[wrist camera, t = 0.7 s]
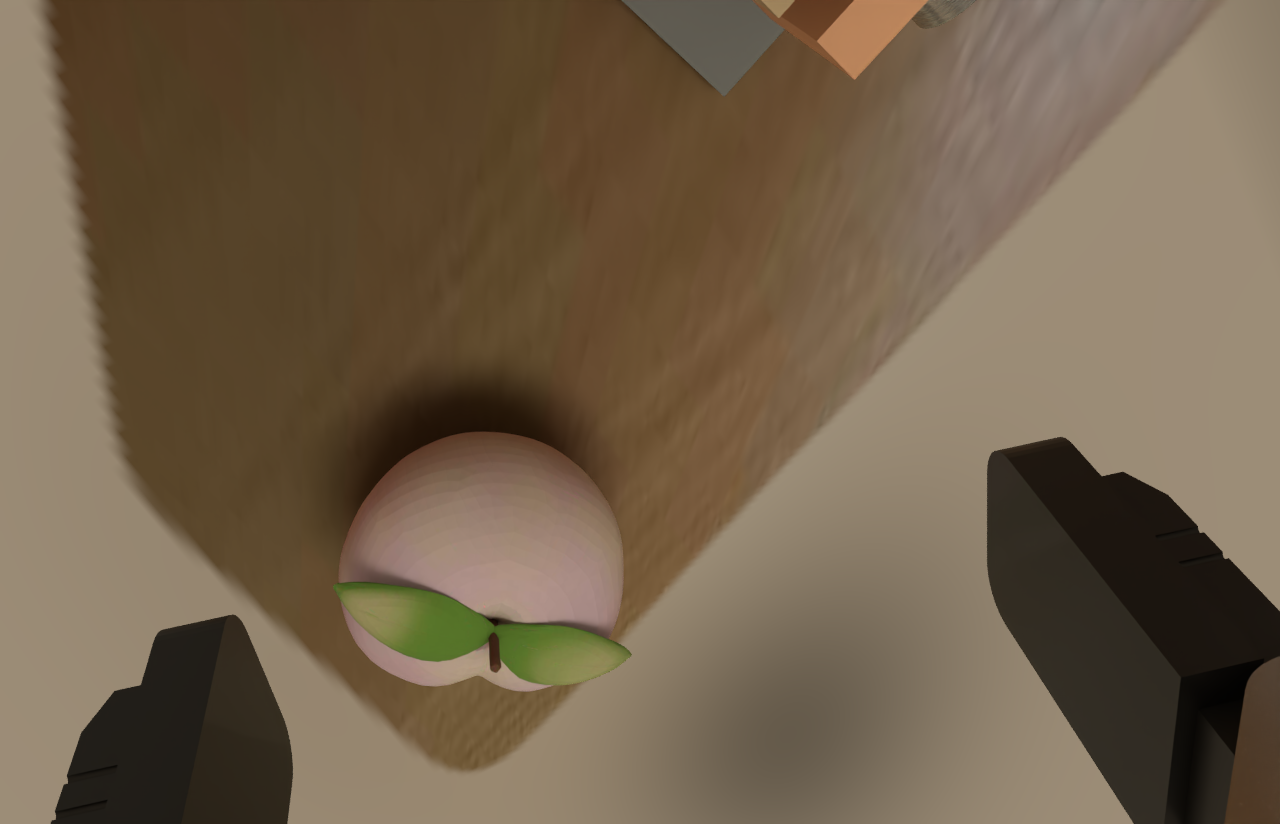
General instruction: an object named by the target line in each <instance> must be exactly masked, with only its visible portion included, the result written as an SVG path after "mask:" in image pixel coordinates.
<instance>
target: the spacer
mask: <svg viewBox="0 0 1280 824" xmlns="http://www.w3.org/2000/svg"><path fill="white" fill-rule="evenodd" d="M752 1H753V2H754V3H755V4H756V5H757V6H758V7H759V8H760V9H761V10H762V11H763V12H764V13H765V14H766V15H767V16H768V17H769V18H770V19H771V20H773V21H774V22H776V23H777V24H778V25H780V26H781V27H782V28H784V29H785V30H787V31H788V32H789V33H791V34H792V35H794V36H795V37H796V38H798V39H799V40H800V41H802V42H803V43H805V44H806V45H807V46H809V47H810V48H811V49H813V50H814V51H816V52H817V53H818V54H820V55H821V56H822V57H824V58H825V59H827V60H828V61H829V62H831V63H832V64H833V65H835V66H836V67H838V68H839V69H840V70H842V71H843V72H844V73H846V74H847V75H849V76H850V77H851V78H853V79H854V80H855V79H856V78H857V77H858V75H859V74H860V73H861V72H862V71H863V70H864V69H865V68H866V67H867V66H868V65H869V64H870V63H871V62H872V60H873V59H874V58H875V57H876V56H877V55H878V54H879V53H880V52H881V51H882V50H883V49H884V48H885V46H886V45H887V44H888V43H889V42H890V41H891V40H892V39H893V38H894V37H895V36H896V35H897V34H898V33H899V31H900V30H901V29H902V28H903V27H904V26H905V25H906V24H907V23H908V22H909V21H910V20H911V19H912V17H913V16H914V15H915V14H916V13H917V12H918V11H919V10H920V9H921V8H922V7H923V6H924V5H925V4H926V2H927V1H928V0H795V1H794V2H793V3H792V4H791V5H790V7H789V8H788V9H787V10H786V11H785V12H784V13H783V14H782V16H781V17H780V18H778V17H776V16H775V15H774V14H772V13H771V12H769V11H768V10H767V9H765V8H764V7H762V6H761V5H760V4H758V3H757V2H755V1H754V0H752Z"/></svg>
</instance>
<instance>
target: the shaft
mask: <svg viewBox="0 0 1280 824" xmlns="http://www.w3.org/2000/svg"><path fill="white" fill-rule="evenodd" d="M975 1H976V0H928V1H927V2H926V4H925V5H924V6H923V7H922V8H921V9H920V10H919V11H918V12H917V13H916V14H915V15H914V16H913V17H912V20H913V21H914V22H915V23H916V24H917V25H918V26H919V27H921V28H925V29H928V28H933V27H937V26H940V25H942V24H944V23H946V22H948V21H950V20H951V19H953V18H955V17H956V16H958V15H959V14H960V13H962V12H963V11H964V10H966V9H967V8H968V7H969V6H970V5H972V4H973V3H974V2H975Z"/></svg>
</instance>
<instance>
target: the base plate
mask: <svg viewBox="0 0 1280 824" xmlns="http://www.w3.org/2000/svg"><path fill="white" fill-rule="evenodd" d="M622 1H623V2H624V3H625V4H626V5H627V6H628V7H629V8H630V9H631V10H632V11H634V12H635V13H636V14H637V15H638V16H639V17H640V18H641V19H642V20H643V21H644V22H645V23H646V24H647V25H648V26H649V27H651V28H652V29H653V30H654V31H655V32H656V33H657V34H658V35H659V36H660V37H661V38H662V39H663V40H664V41H665V42H666V43H668V44H669V45H670V46H671V47H672V48H673V49H674V50H675V51H676V52H677V53H678V54H679V55H680V56H681V57H682V58H683V59H685V60H686V61H687V62H688V63H689V64H690V65H691V66H692V67H693V68H694V69H695V70H696V71H697V72H698V73H699V74H700V75H702V76H703V77H704V78H705V79H706V80H707V81H708V82H709V83H710V84H711V85H712V86H713V87H714V88H715V89H716V90H717V91H719V92H720V93H721V94H722V95H723V96H725V95H726V94H727V93H728V92H729V91H730V90H731V89H732V88H733V86H734V85H735V84H736V83H737V82H738V81H739V80H740V79H741V78H742V76H743V75H744V74H745V73H746V72H747V71H748V70H749V69H750V68H751V66H752V65H753V64H754V63H755V62H756V61H757V60H758V59H759V58H760V56H761V55H762V54H763V53H764V52H765V51H766V50H767V49H768V48H769V46H770V45H771V44H772V43H773V42H774V41H775V40H776V39H777V38H778V36H779V35H780V34H781V33H782V32H783V31H784V30H785V29H784V28H782V27H781V26H780V25H778V24H777V23H776V22H774V21H773V20H771V19H770V18H769V17H768V16H767V15H766V14H765V13H764V12H763V11H762V10H761V9H760V8H759V7H758V6H757V5H756V4H755V3H754V2H753V1H752V0H622Z"/></svg>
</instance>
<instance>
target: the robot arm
mask: <svg viewBox="0 0 1280 824" xmlns="http://www.w3.org/2000/svg"><path fill="white" fill-rule="evenodd" d="M987 567H988V575H989V581H990V586H991V590H992V594H993V597H994V600H995V603H996V606H997V608H998V610H999V613H1000V615H1001V617H1002V619H1003V621H1004V622H1005V624H1006V625H1007V627H1008V629H1009V630H1010V632H1011V634H1012V635H1013V637H1014V638H1015V640H1016V641H1017V643H1018V644H1019V646H1020V648H1021V649H1022V650H1023V652H1024V654H1025V655H1026V657H1027V658H1028V660H1029V661H1030V663H1031V665H1032V666H1033V668H1034V669H1035V671H1036V672H1037V674H1038V675H1039V677H1040V679H1041V680H1042V682H1043V683H1044V685H1045V686H1046V688H1047V689H1048V691H1049V692H1050V694H1051V696H1052V697H1053V698H1054V700H1055V702H1056V703H1057V705H1058V706H1059V708H1060V710H1061V711H1062V713H1063V714H1064V716H1065V717H1066V719H1067V720H1068V722H1069V724H1070V725H1071V727H1072V728H1073V730H1074V731H1075V733H1076V734H1077V736H1078V738H1079V739H1080V740H1081V742H1082V744H1083V745H1084V747H1085V748H1086V750H1087V752H1088V753H1089V755H1090V756H1091V758H1092V759H1093V761H1094V762H1095V764H1096V765H1097V767H1098V769H1099V770H1100V772H1101V773H1102V775H1103V776H1104V778H1105V779H1106V781H1107V783H1108V784H1109V786H1110V787H1111V789H1112V790H1113V792H1114V793H1115V795H1116V797H1117V798H1118V800H1119V801H1120V803H1121V804H1122V806H1123V807H1124V809H1125V810H1126V812H1127V813H1128V815H1129V817H1130V818H1131V820H1132V821H1133V823H1134V824H1280V611H1279V610H1278V609H1277V608H1276V607H1275V606H1274V605H1273V604H1272V603H1271V602H1270V601H1269V600H1268V599H1267V598H1266V597H1265V596H1264V594H1263V593H1262V592H1261V591H1260V590H1259V589H1258V588H1257V587H1256V586H1255V585H1254V584H1253V583H1252V582H1251V581H1250V580H1249V579H1248V578H1247V577H1246V576H1245V575H1244V574H1243V573H1242V572H1241V571H1240V569H1239V568H1238V567H1237V566H1236V565H1235V564H1234V563H1233V562H1232V561H1231V560H1230V559H1229V558H1228V559H1224V558H1223V553H1222V551H1221V550H1220V549H1219V548H1218V547H1217V546H1216V544H1215V543H1214V542H1213V541H1212V540H1210V538H1209V537H1208V536H1207V535H1206V534H1205V533H1199V530H1198V526H1197V525H1196V524H1195V523H1194V522H1193V521H1192V520H1191V518H1190V517H1189V516H1188V515H1187V514H1186V513H1185V512H1184V511H1183V510H1182V509H1181V508H1180V507H1179V506H1178V505H1177V504H1176V503H1175V502H1174V501H1173V500H1172V499H1171V498H1170V497H1169V496H1168V495H1167V494H1165V493H1163V492H1161V491H1159V490H1157V489H1155V488H1153V487H1151V486H1149V485H1148V484H1146V483H1144V482H1142V481H1140V480H1138V479H1136V478H1134V477H1132V476H1130V475H1128V474H1126V473H1124V472H1120V473H1116V474H1110V475H1106V476H1101V475H1100V474H1099V473H1098V472H1097V471H1096V470H1095V469H1094V468H1093V466H1092V465H1091V464H1090V463H1089V462H1088V461H1087V460H1086V459H1085V457H1084V456H1083V455H1082V454H1081V453H1080V452H1079V451H1078V450H1077V448H1075V446H1074V445H1073V444H1072V443H1071V442H1070V441H1069V440H1067V439H1066V438H1063V437H1058V438H1053V439H1048V440H1044V441H1039V442H1035V443H1030V444H1026V445H1021V446H1017V447H1012V448H1007V449H1002V450H998V451H994V452H993V453H992V454H991V456H990V458H989V461H988V469H987ZM67 778H68V784H65V785H64V786H63V789H62V792H61V795H60V798H59V801H58V804H57V807H56V810H55V813H56V820H52V822H51V824H287V821H288V813H289V805H290V796H291V788H292V779H293V763H292V752H291V745H290V740H289V735H288V731H287V727H286V724H285V721H284V718H283V716H282V713H281V711H280V709H279V706H278V704H277V702H276V699H275V697H274V694H273V692H272V690H271V687H270V685H269V683H268V680H267V678H266V675H265V673H264V671H263V668H262V666H261V664H260V661H259V659H258V657H257V654H256V652H255V649H254V647H253V645H252V643H251V640H250V638H249V635H248V633H247V631H246V629H245V627H244V625H243V623H242V621H241V620H240V619H239V618H238V617H237V616H236V615H228V616H224V617H219V618H215V619H210V620H205V621H201V622H197V623H192V624H187V625H182V626H178V627H173V628H169V629H164V630H161V631H160V632H159V633H158V634H157V635H156V637H155V640H154V642H153V646H152V649H151V653H150V656H149V659H148V663H147V667H146V670H145V673H144V677H143V680H142V683H141V685H140V686H135V687H131V688H126V689H122V690H117V691H114V693H113V694H112V695H111V696H110V697H109V699H108V700H107V701H106V703H105V704H104V705H103V706H102V708H101V709H100V710H99V712H98V713H97V714H96V715H95V716H94V718H93V719H92V720H91V721H90V723H89V724H88V725H87V727H86V728H85V729H84V730H83V731H82V733H81V736H80V738H79V741H78V744H77V747H76V750H75V753H74V756H73V759H72V762H71V765H70V768H69V771H68V774H67Z"/></svg>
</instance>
